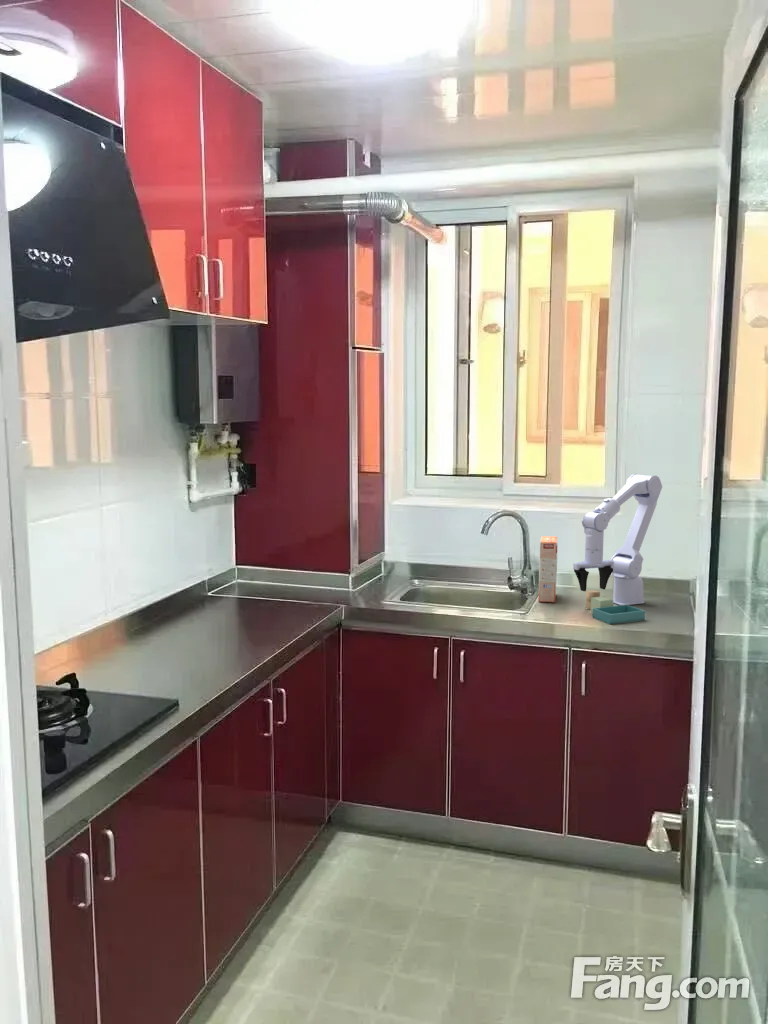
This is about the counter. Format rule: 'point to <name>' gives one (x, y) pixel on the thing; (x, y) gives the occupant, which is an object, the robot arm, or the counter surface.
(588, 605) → the cork cylinder
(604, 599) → the sage cube
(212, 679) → the counter surface
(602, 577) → the robot arm
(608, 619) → the bin
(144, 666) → the counter surface
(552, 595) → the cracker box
